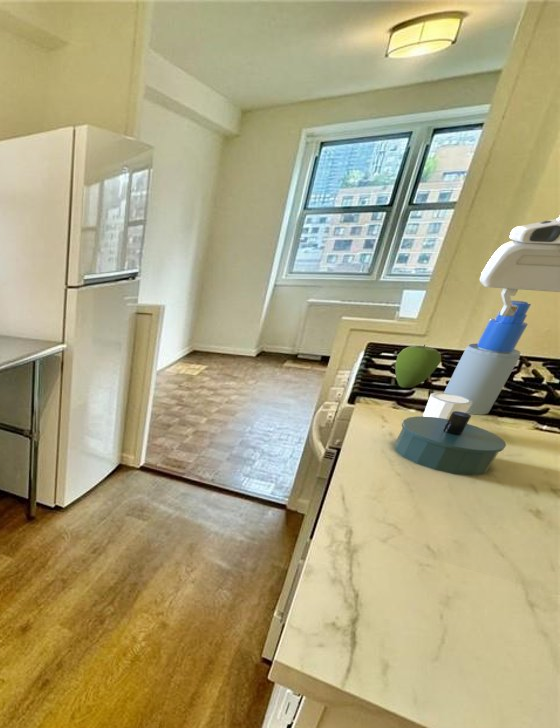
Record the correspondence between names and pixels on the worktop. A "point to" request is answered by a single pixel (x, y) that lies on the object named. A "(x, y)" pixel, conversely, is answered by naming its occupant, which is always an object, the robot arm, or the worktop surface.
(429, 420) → the lid
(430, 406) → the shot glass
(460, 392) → the spray bottle
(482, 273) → the robot arm
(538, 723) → the worktop surface
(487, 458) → the pot
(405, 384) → the green mango
